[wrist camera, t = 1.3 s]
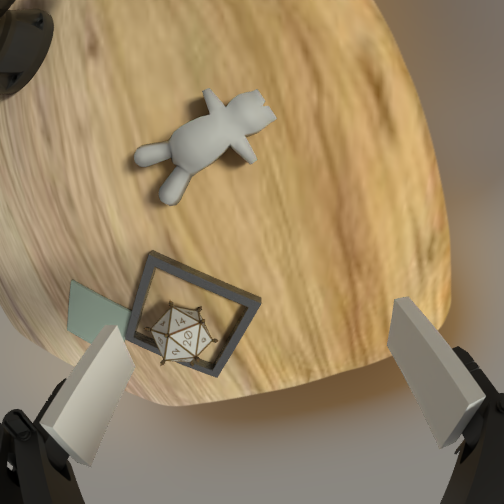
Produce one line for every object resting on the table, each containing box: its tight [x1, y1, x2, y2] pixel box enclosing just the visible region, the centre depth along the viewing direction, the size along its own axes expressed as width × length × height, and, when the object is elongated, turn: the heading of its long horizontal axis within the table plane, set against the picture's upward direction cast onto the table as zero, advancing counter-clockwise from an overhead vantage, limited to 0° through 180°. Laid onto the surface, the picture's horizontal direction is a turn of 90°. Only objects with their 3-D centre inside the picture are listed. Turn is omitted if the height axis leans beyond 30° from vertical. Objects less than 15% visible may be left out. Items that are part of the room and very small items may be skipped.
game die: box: [144, 301, 218, 367], centre depth 35 cm, size 9×8×10 cm
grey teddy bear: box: [134, 88, 277, 206], centre depth 28 cm, size 10×5×15 cm
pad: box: [67, 279, 132, 343], centre depth 39 cm, size 11×11×1 cm
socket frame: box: [125, 250, 261, 377], centre depth 38 cm, size 15×15×2 cm
